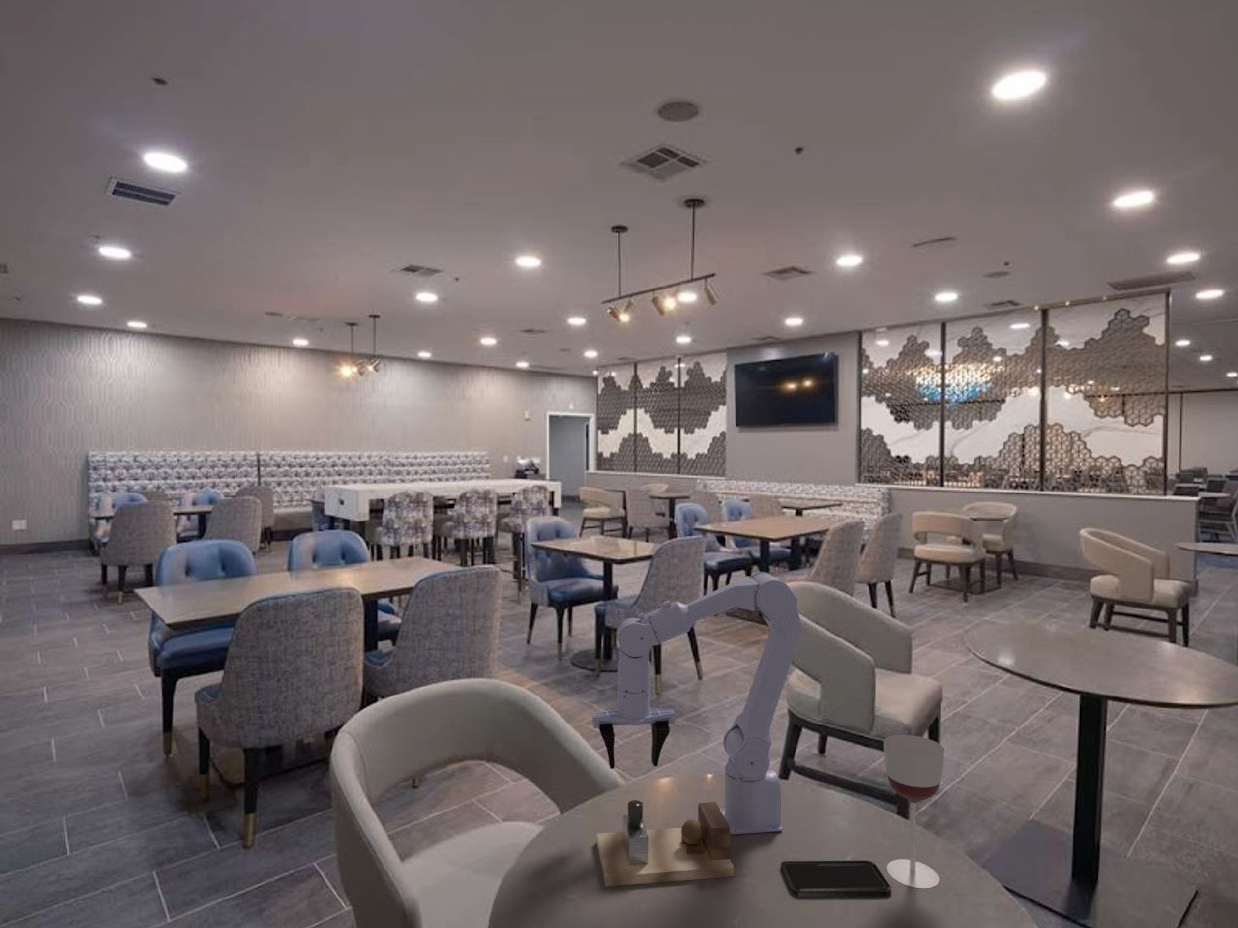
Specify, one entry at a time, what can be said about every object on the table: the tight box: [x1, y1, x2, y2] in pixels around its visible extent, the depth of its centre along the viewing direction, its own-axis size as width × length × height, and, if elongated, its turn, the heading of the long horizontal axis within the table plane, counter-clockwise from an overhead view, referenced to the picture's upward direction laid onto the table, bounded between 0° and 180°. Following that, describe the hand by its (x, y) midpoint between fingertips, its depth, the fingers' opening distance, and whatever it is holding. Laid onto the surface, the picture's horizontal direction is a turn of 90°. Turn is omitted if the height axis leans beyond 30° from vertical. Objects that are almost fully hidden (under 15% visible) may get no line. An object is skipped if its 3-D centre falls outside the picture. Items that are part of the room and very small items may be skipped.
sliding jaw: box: [622, 799, 649, 864], centre depth 107 cm, size 3×7×8 cm, turn 8°
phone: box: [780, 860, 892, 898], centre depth 103 cm, size 8×1×15 cm
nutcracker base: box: [596, 801, 735, 888], centre depth 108 cm, size 20×12×6 cm, turn 98°
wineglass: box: [883, 734, 945, 889], centre depth 105 cm, size 8×9×20 cm
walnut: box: [680, 819, 703, 845], centre depth 109 cm, size 4×4×4 cm
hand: (633, 764), depth 119 cm, fingers open, 7 cm apart
